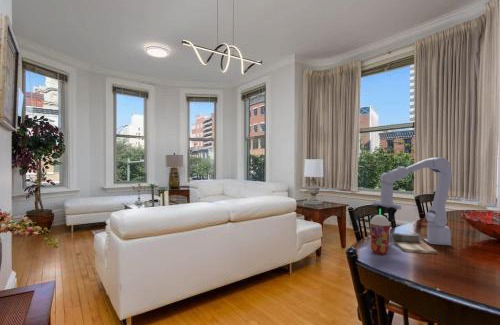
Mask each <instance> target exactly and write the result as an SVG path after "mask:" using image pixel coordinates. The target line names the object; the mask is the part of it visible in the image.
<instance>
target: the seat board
mask: <svg viewBox="0 0 500 325" xmlns="http://www.w3.org/2000/svg"><path fill="white" fill-rule="evenodd" d="M391 243H393V244H394V243H395V246H397V247H398V249H400V250H401V251H403V252H407V253H409V252H410V253H419V254H420V253H421V254H434V255H435V254H438V251H437V250H436V249H434V248H433V247H432V246H430V245H428V244H427V243H425V242H424V241H422V240H420V242H408V241H394V240H393V239H392V238H391Z"/></svg>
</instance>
